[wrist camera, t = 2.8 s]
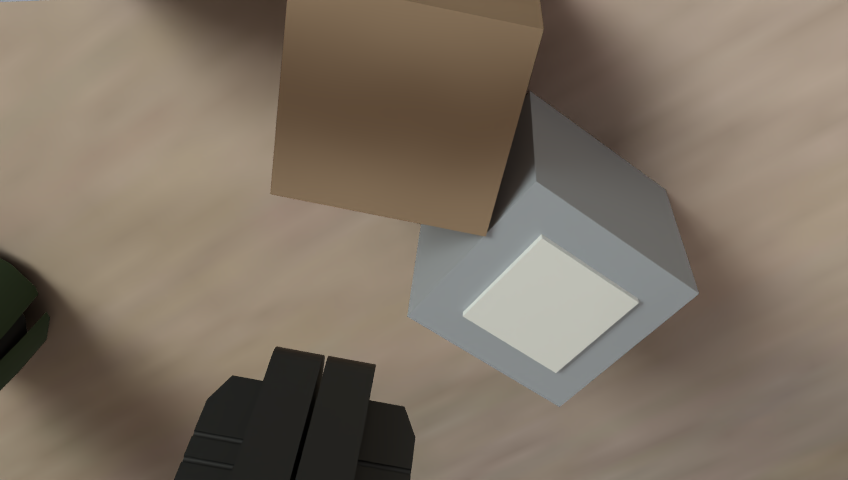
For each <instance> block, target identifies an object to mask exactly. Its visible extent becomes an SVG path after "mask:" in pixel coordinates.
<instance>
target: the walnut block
mask: <svg viewBox="0 0 848 480" xmlns="http://www.w3.org/2000/svg"><path fill="white" fill-rule="evenodd" d="M543 30H544V27H543V19H542V12H541V4H540V0H287V6H286V18H285V29H284V41H283V53H282V64H281V76H280V88H279V99H278V111H277V123H276V134H275V146H274V157H273V169H272V181H271V192H270V194H272V195H277V196H282V197H287V198H292V199H298V200H303V201H308V202H313V203H318V204H323V205H328V206H333V207H338V208H343V209H348V210H353V211H358V212H363V213H368V214H373V215H378V216H384V217H389V218H394V219H399V220H404V221H409V222H414V223H419V224H424V225H429V226H434V227H439V228H444V229H449V230H454V231H459V232H464V233H470V234H475V235H480V236H485V237H486V234H487V230H488V227H489V223H490V220H491V216H492V212H493V209H494V205H495V202H496V198H497V195H498V191H499V187H500V184H501V180H502V177H503V173H504V170H505V166H506V162H507V159H508V155H509V152H510V148H511V145H512V141H513V138H514V134H515V130H516V127H517V123H518V120H519V116H520V113H521V109H522V105H523V102H524V98H525V95H526V91H527V88H528V84H529V80H530V77H531V73H532V70H533V66H534V63H535V59H536V55H537V52H538V48H539V45H540V41H541V38H542V34H543Z"/></svg>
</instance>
